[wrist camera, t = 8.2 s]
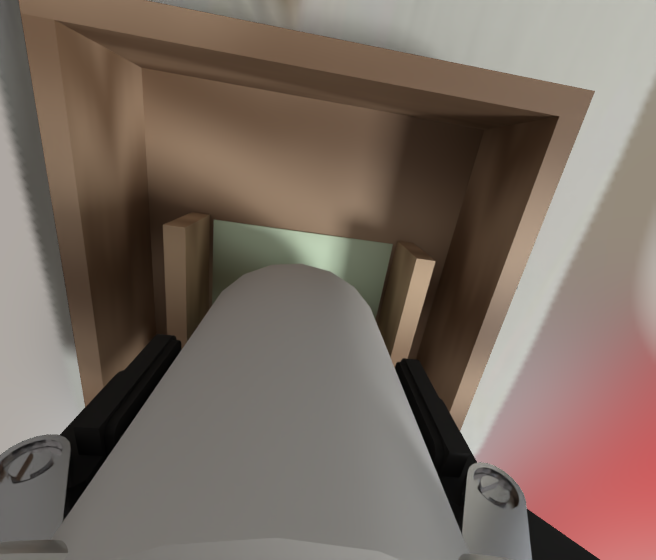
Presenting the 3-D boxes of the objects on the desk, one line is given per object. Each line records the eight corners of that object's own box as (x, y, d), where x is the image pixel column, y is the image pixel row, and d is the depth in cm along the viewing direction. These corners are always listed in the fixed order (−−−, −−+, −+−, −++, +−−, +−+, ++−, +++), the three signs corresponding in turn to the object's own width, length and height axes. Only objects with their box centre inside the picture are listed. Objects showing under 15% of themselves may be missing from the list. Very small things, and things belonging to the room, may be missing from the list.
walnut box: (126, 44, 12) (14, -26, 8) (499, 114, 14) (594, 91, 9) (149, 372, 18) (91, 447, 13) (412, 395, 19) (444, 469, 15)
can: (399, 359, 15) (660, 945, 4) (267, 420, 16) (162, 1033, 5) (327, 224, 12) (468, 801, 1) (175, 306, 13) (-525, 1050, 2)
